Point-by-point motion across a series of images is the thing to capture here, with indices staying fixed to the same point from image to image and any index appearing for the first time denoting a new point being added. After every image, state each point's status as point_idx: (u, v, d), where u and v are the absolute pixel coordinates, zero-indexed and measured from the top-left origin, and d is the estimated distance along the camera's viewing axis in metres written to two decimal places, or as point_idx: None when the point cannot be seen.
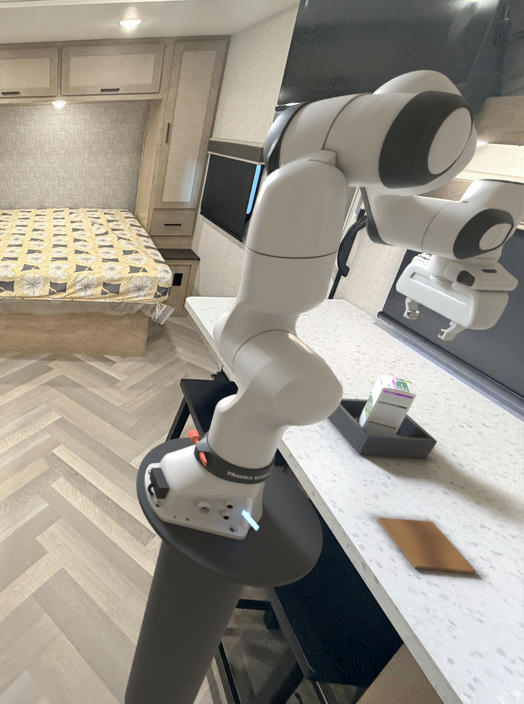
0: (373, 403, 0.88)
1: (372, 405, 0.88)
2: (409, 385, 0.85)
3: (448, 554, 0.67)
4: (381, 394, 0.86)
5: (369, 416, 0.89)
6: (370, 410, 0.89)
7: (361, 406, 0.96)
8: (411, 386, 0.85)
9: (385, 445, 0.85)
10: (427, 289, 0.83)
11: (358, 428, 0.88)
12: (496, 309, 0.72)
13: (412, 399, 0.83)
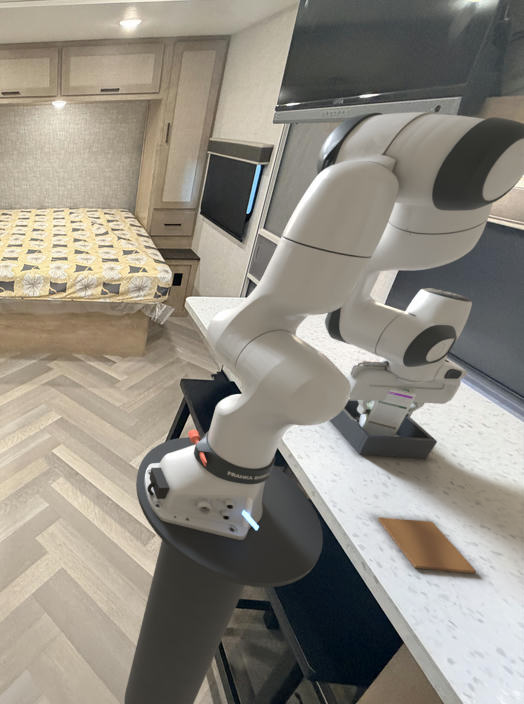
0: (373, 403, 0.88)
1: (372, 405, 0.88)
2: None
3: (448, 554, 0.67)
4: None
5: (369, 416, 0.89)
6: None
7: None
8: None
9: (385, 445, 0.85)
10: None
11: (358, 428, 0.88)
12: None
13: (412, 399, 0.83)
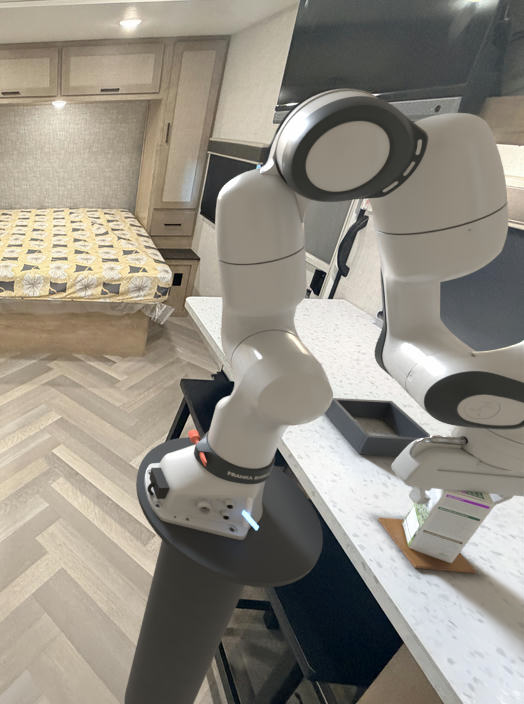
0: (430, 508, 0.64)
1: (428, 510, 0.64)
2: None
3: None
4: (443, 499, 0.62)
5: (424, 524, 0.65)
6: (425, 516, 0.65)
7: (361, 406, 0.96)
8: None
9: (385, 445, 0.85)
10: (472, 476, 0.59)
11: (358, 428, 0.88)
12: None
13: (489, 510, 0.59)
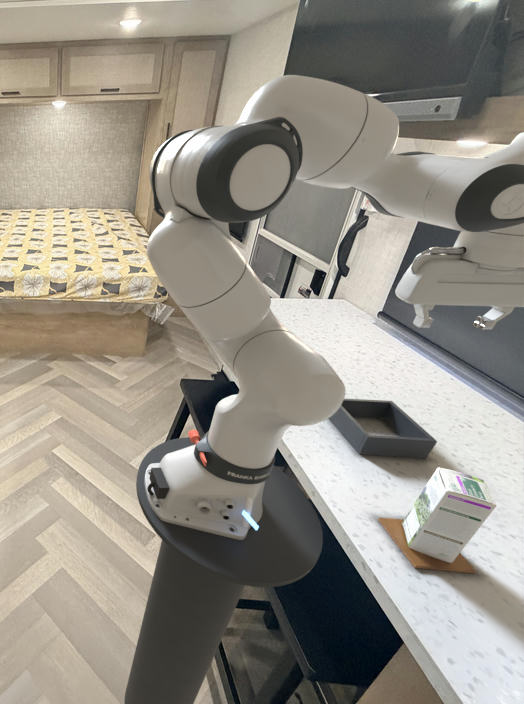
0: (431, 508, 0.64)
1: (429, 510, 0.64)
2: (482, 487, 0.61)
3: None
4: (444, 500, 0.62)
5: (425, 524, 0.65)
6: (426, 516, 0.65)
7: (361, 406, 0.96)
8: (485, 488, 0.61)
9: (385, 445, 0.85)
10: (472, 286, 0.62)
11: (358, 428, 0.88)
12: None
13: (490, 510, 0.59)
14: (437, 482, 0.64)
